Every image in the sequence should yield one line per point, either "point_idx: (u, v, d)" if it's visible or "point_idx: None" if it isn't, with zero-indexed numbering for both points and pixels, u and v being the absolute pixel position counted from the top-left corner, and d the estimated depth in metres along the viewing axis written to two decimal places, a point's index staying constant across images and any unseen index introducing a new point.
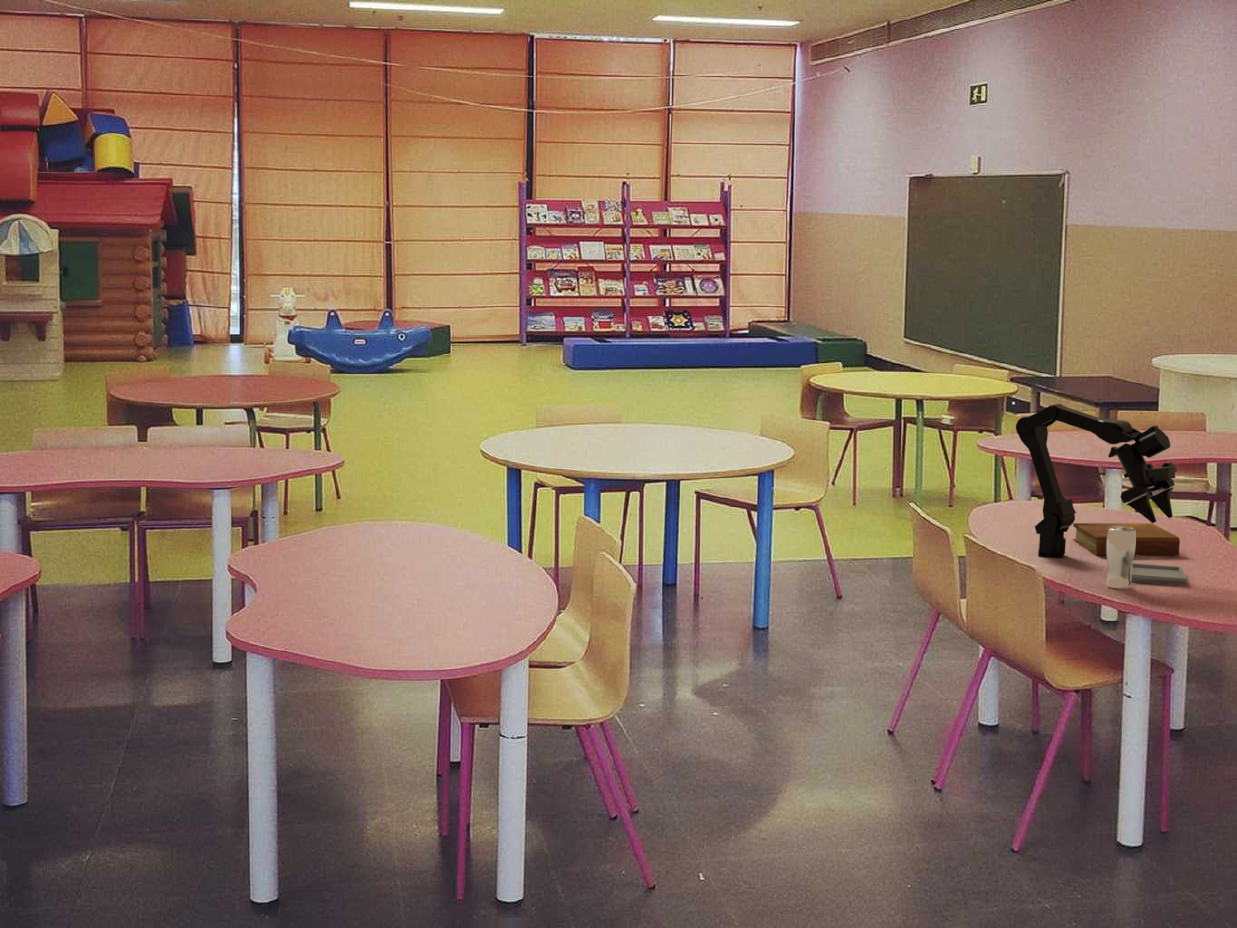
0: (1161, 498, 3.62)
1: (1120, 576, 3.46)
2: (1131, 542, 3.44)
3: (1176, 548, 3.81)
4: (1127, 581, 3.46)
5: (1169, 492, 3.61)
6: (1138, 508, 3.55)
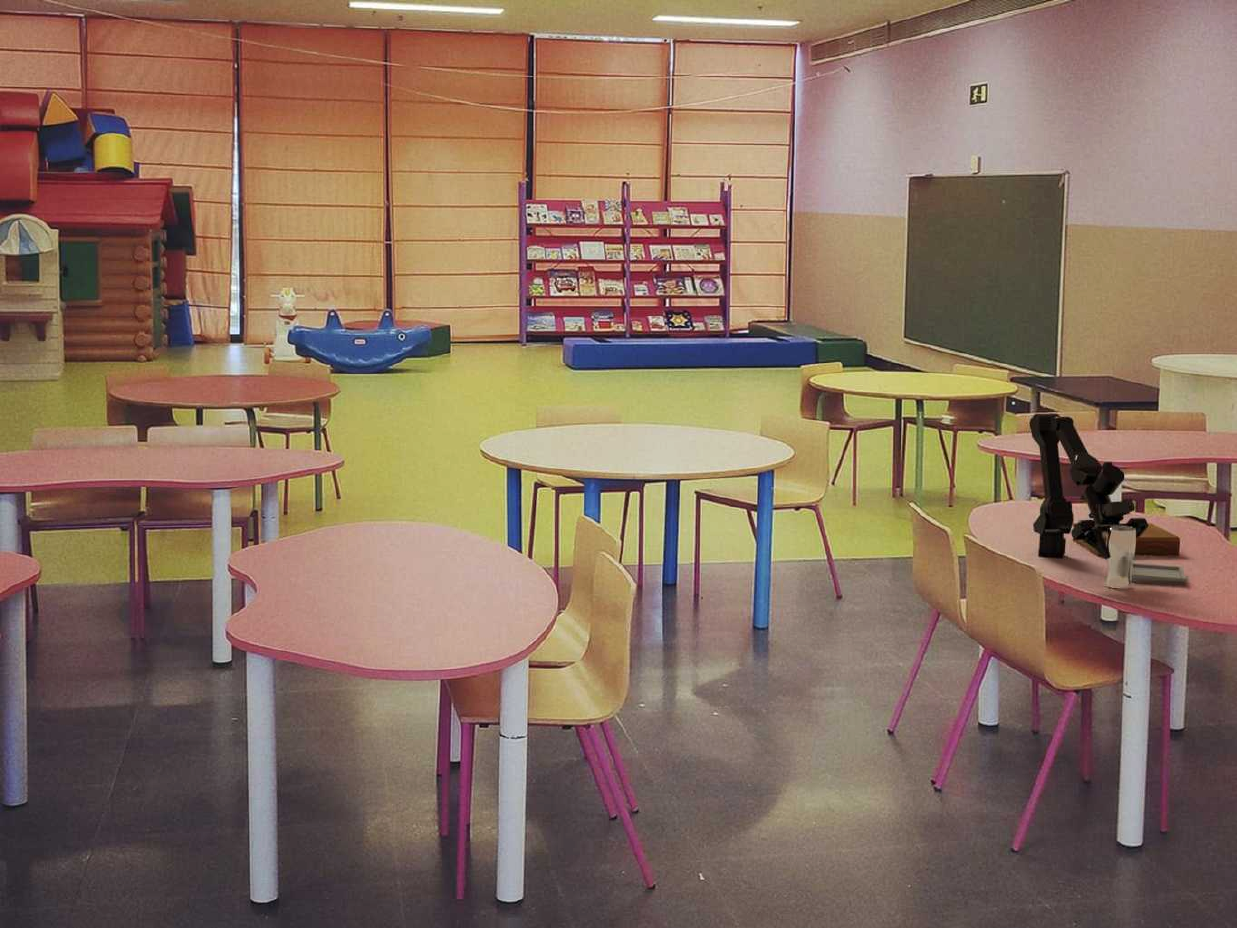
0: None
1: (1120, 576, 3.46)
2: (1131, 542, 3.44)
3: (1176, 548, 3.81)
4: (1127, 581, 3.46)
5: None
6: (1094, 544, 3.50)
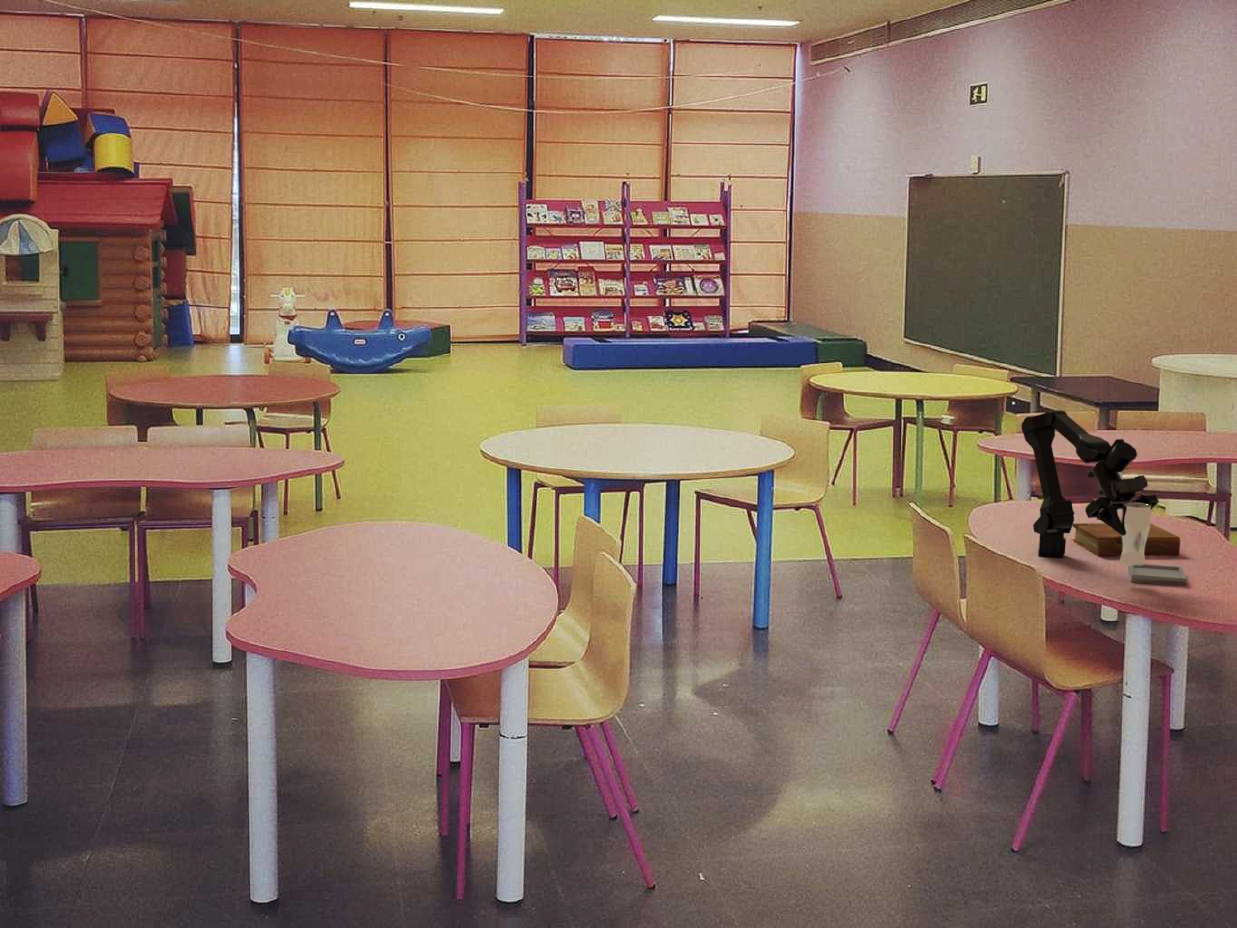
0: None
1: (1135, 552, 3.47)
2: (1147, 518, 3.45)
3: (1177, 548, 3.82)
4: (1142, 557, 3.48)
5: None
6: (1108, 522, 3.50)
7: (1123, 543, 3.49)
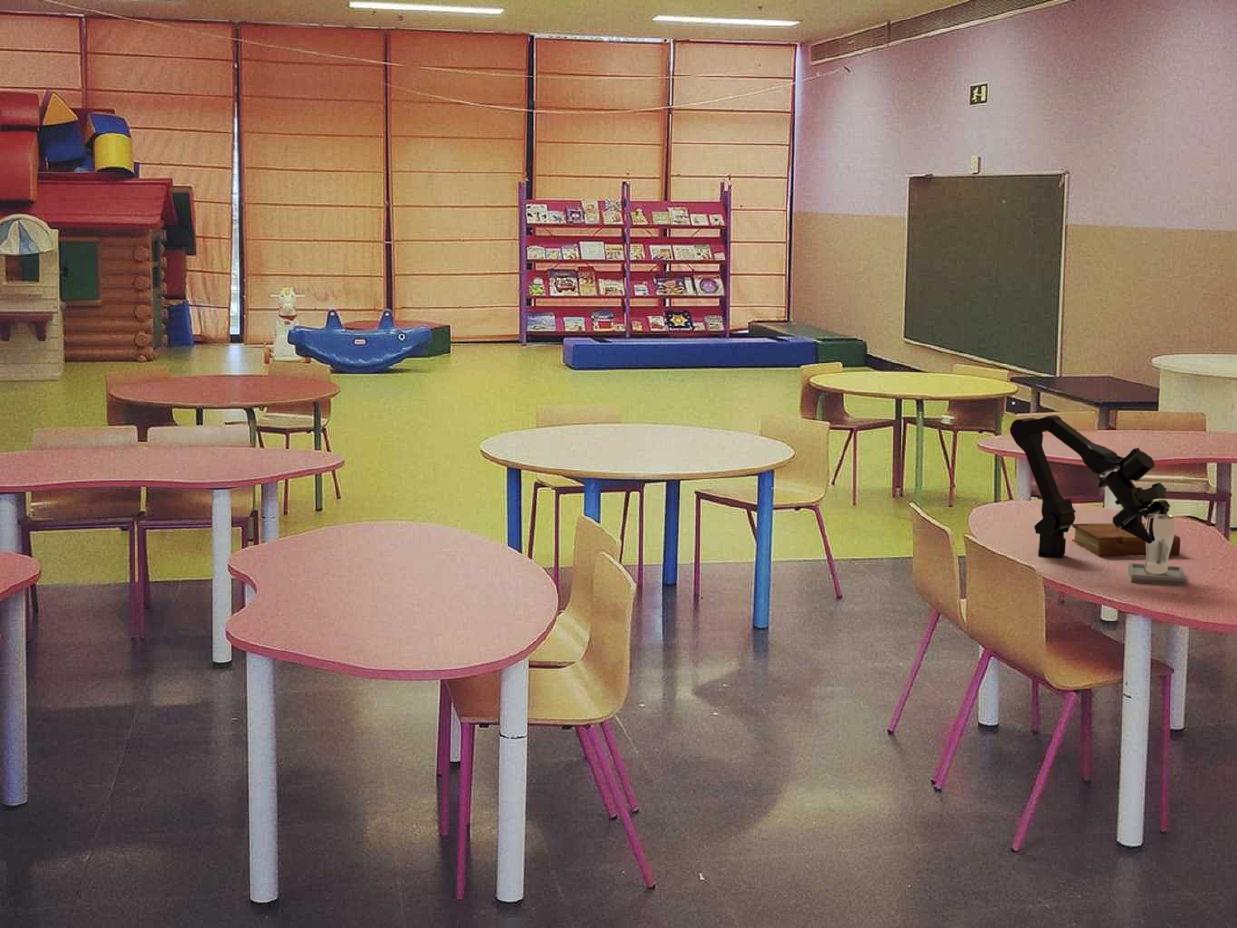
0: None
1: (1162, 563, 3.55)
2: (1173, 529, 3.53)
3: (1177, 547, 3.82)
4: (1167, 567, 3.56)
5: (1165, 513, 3.60)
6: (1132, 531, 3.55)
7: (1149, 554, 3.55)
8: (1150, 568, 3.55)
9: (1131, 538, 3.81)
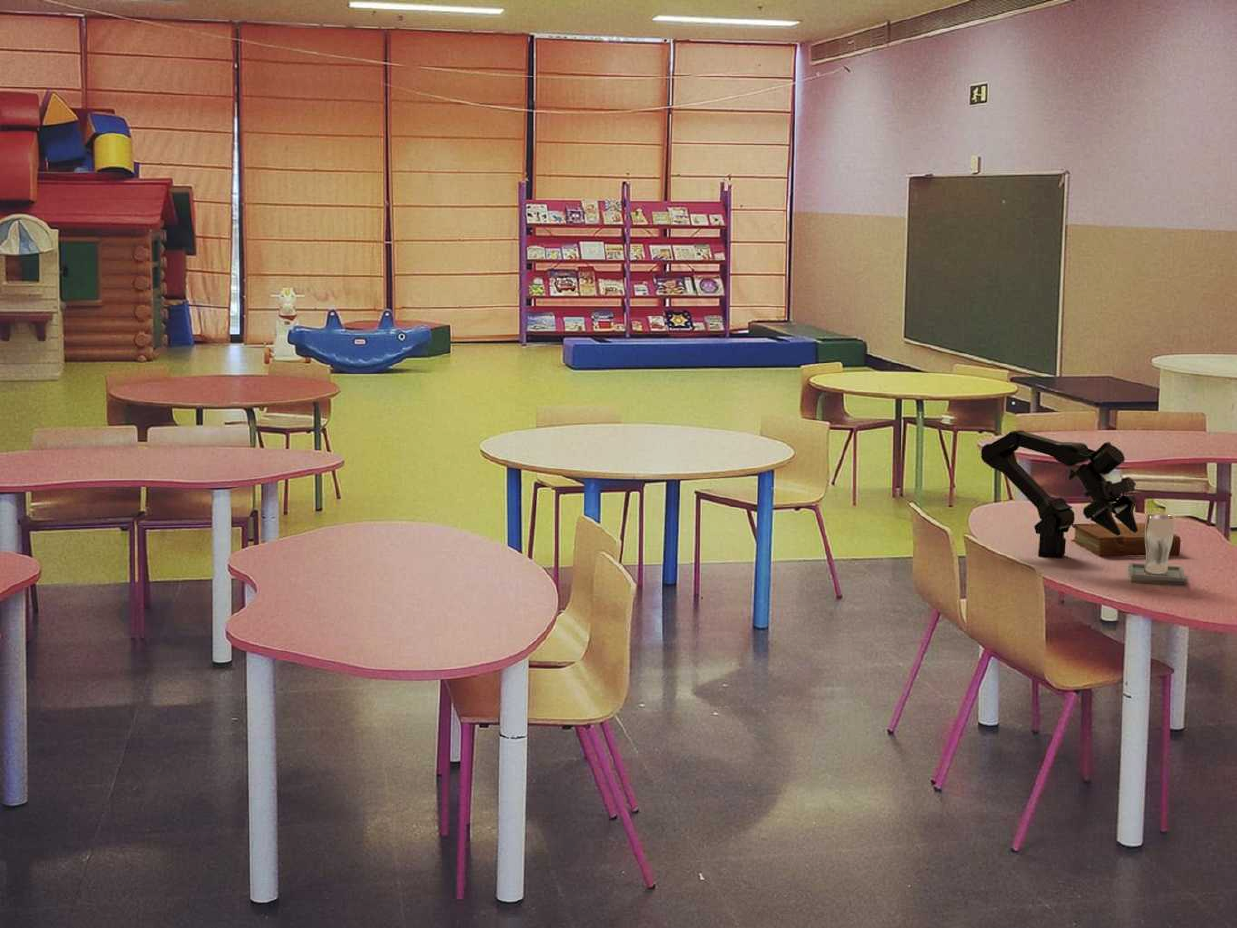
0: (1125, 514, 3.68)
1: (1162, 563, 3.55)
2: (1172, 529, 3.53)
3: (1177, 547, 3.82)
4: (1167, 567, 3.56)
5: (1132, 508, 3.68)
6: (1102, 522, 3.61)
7: (1149, 555, 3.55)
8: (1150, 568, 3.55)
9: (1131, 538, 3.81)
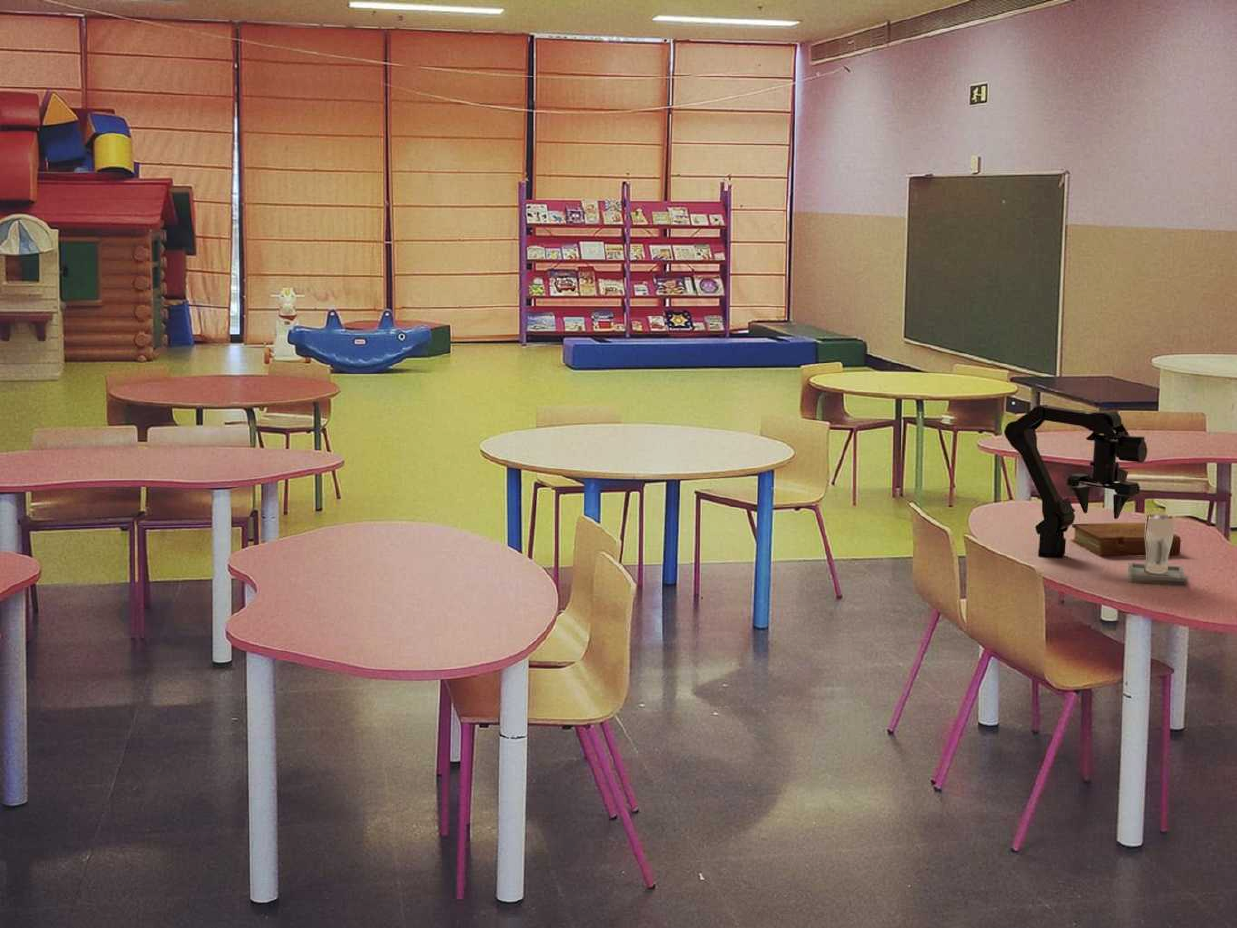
0: (1085, 493, 3.73)
1: (1162, 563, 3.55)
2: (1172, 529, 3.53)
3: (1177, 547, 3.82)
4: (1167, 567, 3.56)
5: None
6: (1119, 502, 3.64)
7: (1149, 555, 3.55)
8: (1150, 568, 3.55)
9: (1132, 538, 3.81)
